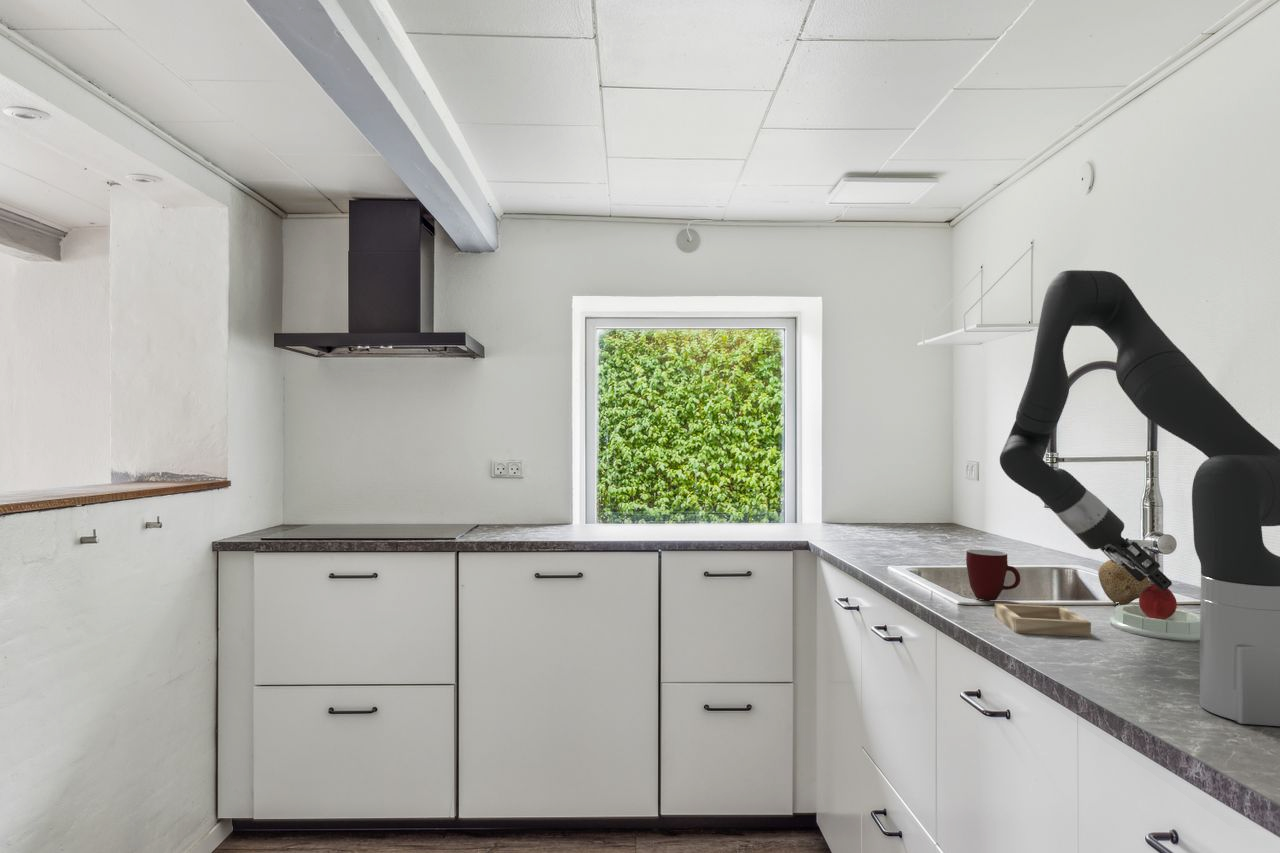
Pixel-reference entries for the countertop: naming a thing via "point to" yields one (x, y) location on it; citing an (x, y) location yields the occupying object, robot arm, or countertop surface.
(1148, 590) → the onion
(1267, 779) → the countertop surface
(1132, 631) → the dish
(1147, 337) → the robot arm
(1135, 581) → the natural sponge
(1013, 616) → the holder
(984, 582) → the mug
